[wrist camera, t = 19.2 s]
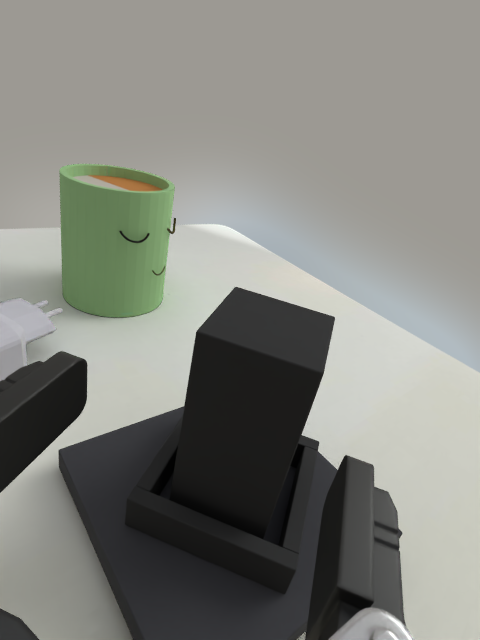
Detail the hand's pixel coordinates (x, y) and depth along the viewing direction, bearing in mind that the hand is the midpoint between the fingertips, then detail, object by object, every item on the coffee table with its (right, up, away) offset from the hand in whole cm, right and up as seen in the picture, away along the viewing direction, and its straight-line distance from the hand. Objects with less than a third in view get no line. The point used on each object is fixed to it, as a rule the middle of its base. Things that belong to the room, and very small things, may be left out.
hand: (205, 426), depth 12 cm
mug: (-12, +6, +32) cm, 34 cm away
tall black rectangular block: (0, -6, +10) cm, 12 cm away
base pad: (0, -8, +11) cm, 14 cm away
